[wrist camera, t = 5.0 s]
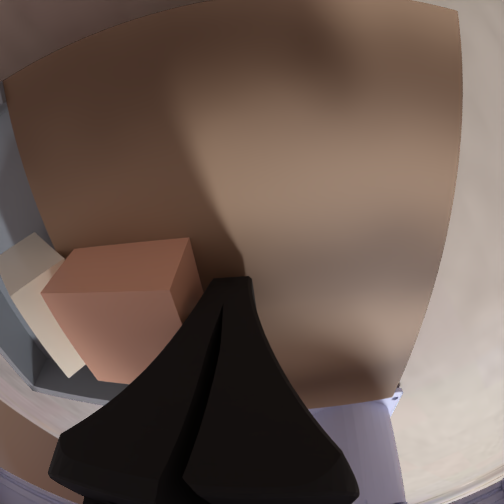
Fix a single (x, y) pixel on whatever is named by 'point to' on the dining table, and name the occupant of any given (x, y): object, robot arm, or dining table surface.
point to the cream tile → (38, 296)
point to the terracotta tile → (124, 302)
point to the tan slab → (266, 164)
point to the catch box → (3, 308)
